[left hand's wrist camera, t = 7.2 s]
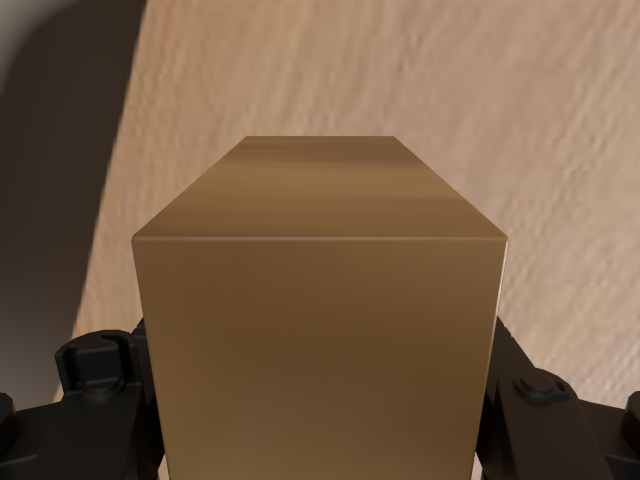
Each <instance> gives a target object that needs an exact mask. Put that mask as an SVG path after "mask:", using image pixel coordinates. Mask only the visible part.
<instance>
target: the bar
mask: <svg viewBox="0 0 640 480" xmlns="http://www.w3.org/2000/svg"><path fill="white" fill-rule="evenodd" d="M131 242H132V248H133V254H134V261H135V267H136V273H137V279H138V286H139V292H140V298H141V304H142V311H143V317H144V323H145V330H146V336H147V342H148V348H149V355H150V361H151V367H152V373H153V380H154V386H155V392H156V398H157V405H158V411H159V417H160V424H161V430H162V436H163V442H164V449H165V455H166V461H167V467H168V474H169V480H471V476H472V469H473V463H474V457H475V451H476V444H477V438H478V432H479V426H480V419H481V413H482V407H483V401H484V394H485V388H486V382H487V376H488V369H489V363H490V357H491V351H492V344H493V338H494V332H495V326H496V319H497V313H498V307H499V301H500V294H501V288H502V282H503V276H504V269H505V263H506V257H507V251H508V244H509V239H508V236H507V235H506V234H505V233H503V232H502V231H501V230H500V229H499V228H498V227H497V226H495V225H494V224H493V223H492V222H491V221H490V220H489V219H487V218H486V217H485V216H484V215H483V214H482V213H481V212H480V211H478V210H477V209H476V208H475V207H474V206H473V205H472V204H470V203H469V202H468V201H467V200H466V199H465V198H464V197H462V196H461V195H460V194H459V193H458V192H457V191H456V190H454V189H453V188H452V187H451V186H450V185H449V184H448V183H446V182H445V181H444V180H443V179H442V178H441V177H440V176H439V175H437V174H436V173H435V172H434V171H433V170H432V169H431V168H429V167H428V166H427V165H426V164H425V163H424V162H423V161H421V160H420V159H419V158H418V157H417V156H416V155H415V154H413V153H412V152H411V151H410V150H409V149H408V148H407V147H405V146H404V145H403V144H402V143H401V142H400V141H399V140H397V139H396V138H395V137H393V136H247V137H245V138H244V139H243V140H242V141H241V142H239V143H238V144H237V145H236V146H235V147H234V148H233V149H232V150H230V151H229V152H228V153H227V154H226V155H225V156H224V157H222V158H221V159H220V160H219V161H218V162H217V163H216V164H214V165H213V166H212V167H211V168H210V169H209V170H208V171H206V172H205V173H204V174H203V175H202V176H201V177H200V178H198V179H197V180H196V181H195V182H194V183H193V184H192V185H190V186H189V187H188V188H187V189H186V190H185V191H184V192H182V193H181V194H180V195H179V196H178V197H177V198H176V199H174V200H173V201H172V202H171V203H170V204H169V205H168V206H167V207H165V208H164V209H163V210H162V211H161V212H160V213H159V214H157V215H156V216H155V217H154V218H153V219H152V220H151V221H149V222H148V223H147V224H146V225H145V226H144V227H143V228H141V229H140V230H139V231H138V232H137V233H136V234H135V235H133V237H132V240H131Z"/></svg>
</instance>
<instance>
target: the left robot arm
mask: <svg viewBox="0 0 640 480" xmlns="http://www.w3.org/2000/svg"><path fill="white" fill-rule="evenodd" d="M54 356H55V360H56V364H57V368H58V372H59V376H60V380H61V384H62V388H63V392H64V395H63V398H62V400H61V401H60V402H56V403H52V404H48V405H44V406H39V407H34V408H29V409H25V410H20V411H16V410H15V406H14V403H13V400H12V398H11V397H9V396H8V395H7V394H6V393H0V480H159V474H158V469H159V466H160V464H161V461H162V459H163V457H164V454H165V449H164V442H163V436H162V430H161V424H160V417H159V411H158V405H157V398H156V392H155V386H154V380H153V373H152V367H151V361H150V355H149V348H148V342H147V336H146V330H145V323H144V317H143V318H142V319H141V321H140V322H139V323H138V325H137V328H135V329H134V330H133V332H132V333H131V334H130V333H129V332H126V331H121V330H101V331H96V332H91V333H87V334H85V335H82V336H80V337H77V338H75V339H73V340H71V341H70V342H68V343H66V344H65V345H63V346H62V347H61V348H60V349H59V350H58V351H57V352H56V354H55V355H54ZM476 453H477V456H478V458H479V461H480V463H481V466H482V474H481V480H640V391H635V392H634V393H633V394H632V395H631V396H629V398H628V401H627V404H626V408H625V409H620V408H616V407H611V406H606V405H601V404H597V403H592V402H588V401H584V400H581V399H578V397H577V395H576V393H575V392H574V390H573V389H572V388H571V386H570V385H569V384H568V383H567V382H565V381H564V380H563V379H561V378H560V377H558V376H557V375H555V374H552V373H550V372H548V371H546V370H543V369H539V368H535V367H534V365H533V364H532V363H531V361H530V360H529V358H528V357H527V356H526V354H525V353H524V351H523V350H522V349H521V347H520V346H519V345H518V343H517V342H516V340H515V339H514V338H513V337H511V334H510V332H509V331H508V329H507V328H506V327H504V324H503V323H502V321H501V320H500V318H499V317H498V316H497V319H496V326H495V332H494V338H493V344H492V351H491V357H490V363H489V369H488V376H487V382H486V388H485V394H484V401H483V407H482V413H481V419H480V426H479V432H478V438H477V444H476Z"/></svg>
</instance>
